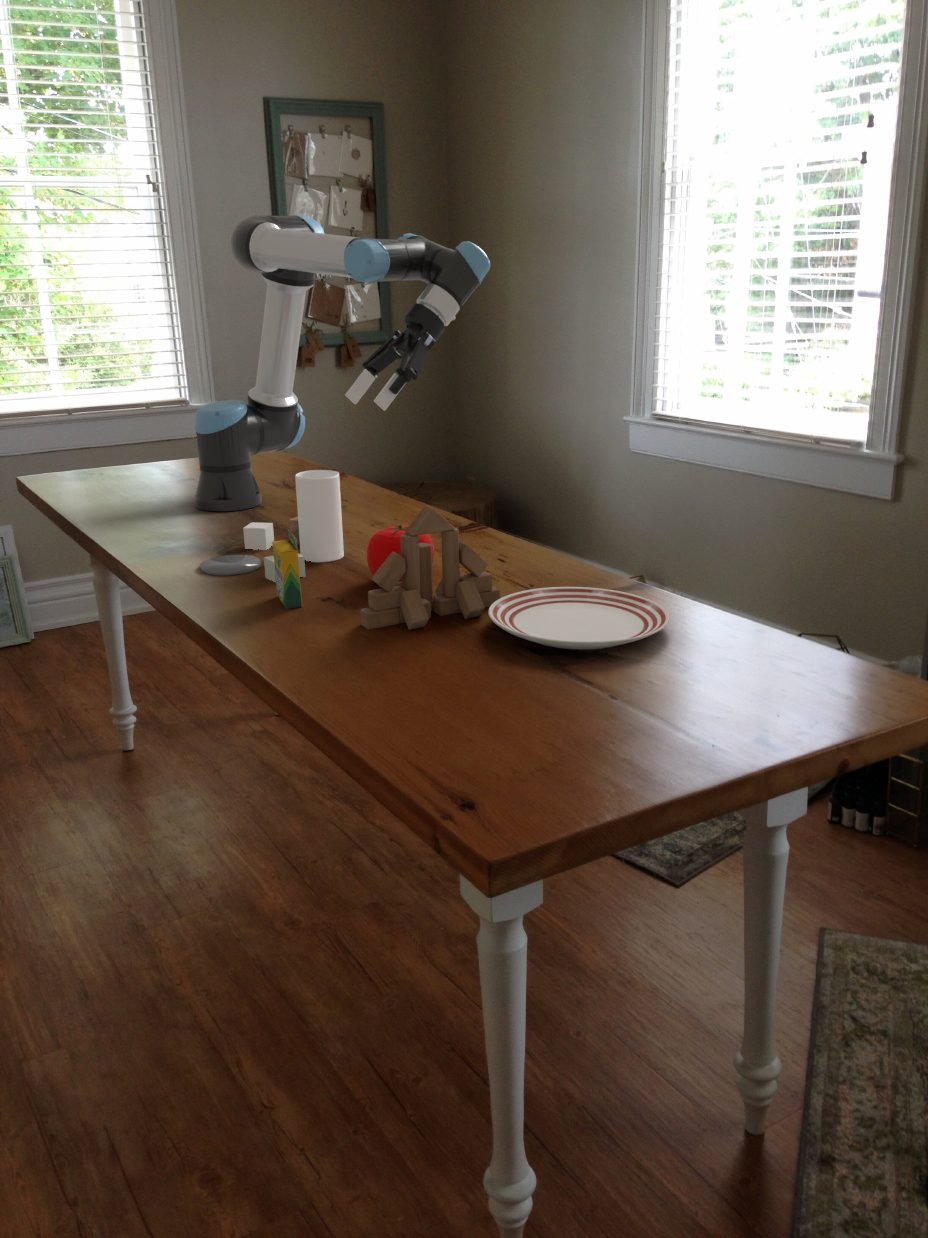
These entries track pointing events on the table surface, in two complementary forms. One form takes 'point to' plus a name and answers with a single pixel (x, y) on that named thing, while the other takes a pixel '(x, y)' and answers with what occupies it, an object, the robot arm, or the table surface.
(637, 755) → the table surface
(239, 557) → the coaster
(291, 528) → the walnut block
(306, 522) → the cup
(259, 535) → the off-white plastic block
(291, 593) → the crayon box
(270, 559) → the sage painted block
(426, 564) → the wooden blocks
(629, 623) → the dinner plate
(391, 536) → the tomato
